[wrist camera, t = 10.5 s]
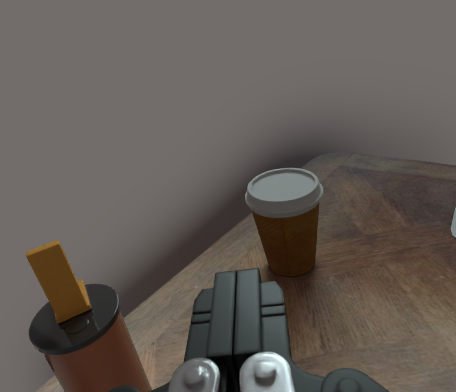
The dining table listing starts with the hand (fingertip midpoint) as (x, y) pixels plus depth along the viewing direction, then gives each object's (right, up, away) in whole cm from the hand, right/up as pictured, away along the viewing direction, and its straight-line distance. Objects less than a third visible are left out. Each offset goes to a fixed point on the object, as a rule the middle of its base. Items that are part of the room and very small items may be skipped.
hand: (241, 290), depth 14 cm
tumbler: (-11, -17, +25) cm, 33 cm away
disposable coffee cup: (+8, -6, +40) cm, 42 cm away
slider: (-14, -6, +21) cm, 26 cm away
